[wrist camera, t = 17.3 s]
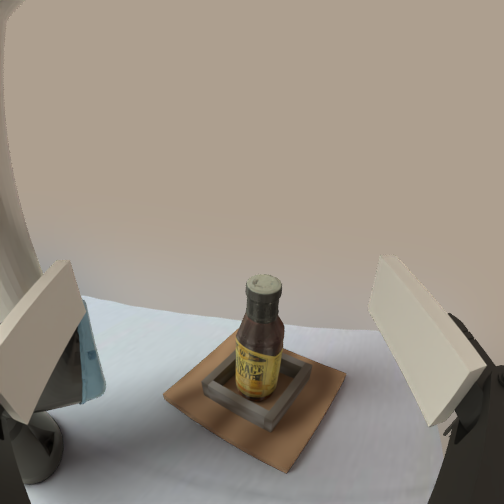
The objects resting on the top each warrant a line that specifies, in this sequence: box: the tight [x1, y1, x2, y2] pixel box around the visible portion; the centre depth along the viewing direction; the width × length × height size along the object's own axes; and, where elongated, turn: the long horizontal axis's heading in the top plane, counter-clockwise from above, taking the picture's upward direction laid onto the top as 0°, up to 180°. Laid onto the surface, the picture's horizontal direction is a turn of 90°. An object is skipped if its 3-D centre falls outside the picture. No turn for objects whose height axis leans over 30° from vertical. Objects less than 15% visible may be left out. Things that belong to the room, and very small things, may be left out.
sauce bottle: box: [236, 274, 284, 401], centre depth 37 cm, size 7×6×20 cm
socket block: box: [163, 329, 346, 474], centre depth 41 cm, size 22×20×5 cm
